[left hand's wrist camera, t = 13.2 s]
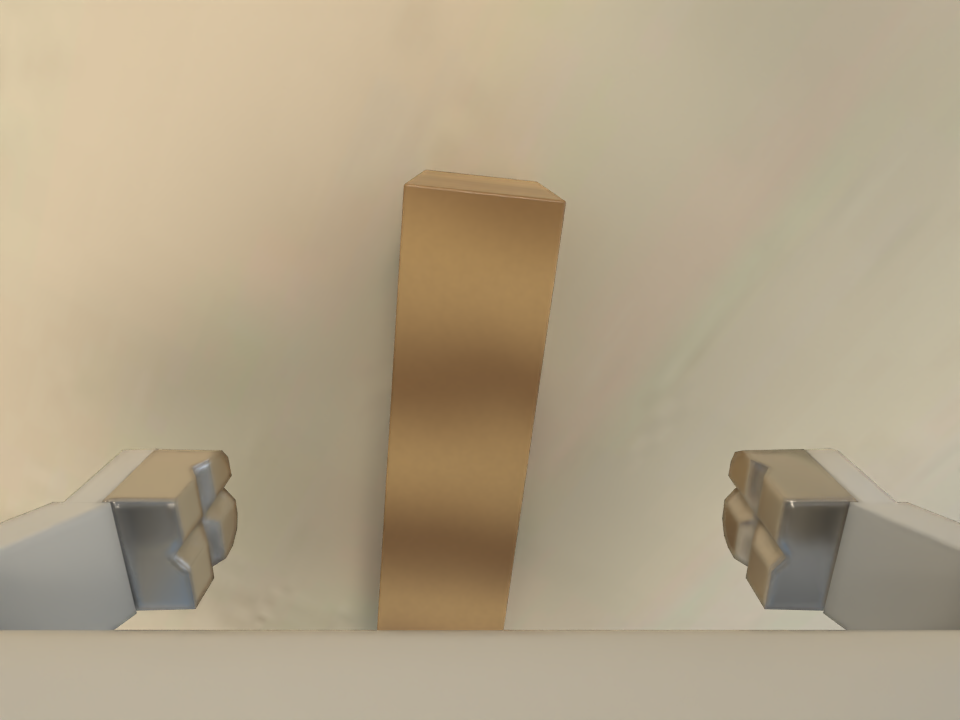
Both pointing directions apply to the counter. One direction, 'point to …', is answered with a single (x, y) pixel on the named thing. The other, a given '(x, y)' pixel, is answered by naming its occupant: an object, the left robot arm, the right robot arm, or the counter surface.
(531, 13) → the counter surface
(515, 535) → the bar
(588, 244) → the counter surface
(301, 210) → the counter surface
